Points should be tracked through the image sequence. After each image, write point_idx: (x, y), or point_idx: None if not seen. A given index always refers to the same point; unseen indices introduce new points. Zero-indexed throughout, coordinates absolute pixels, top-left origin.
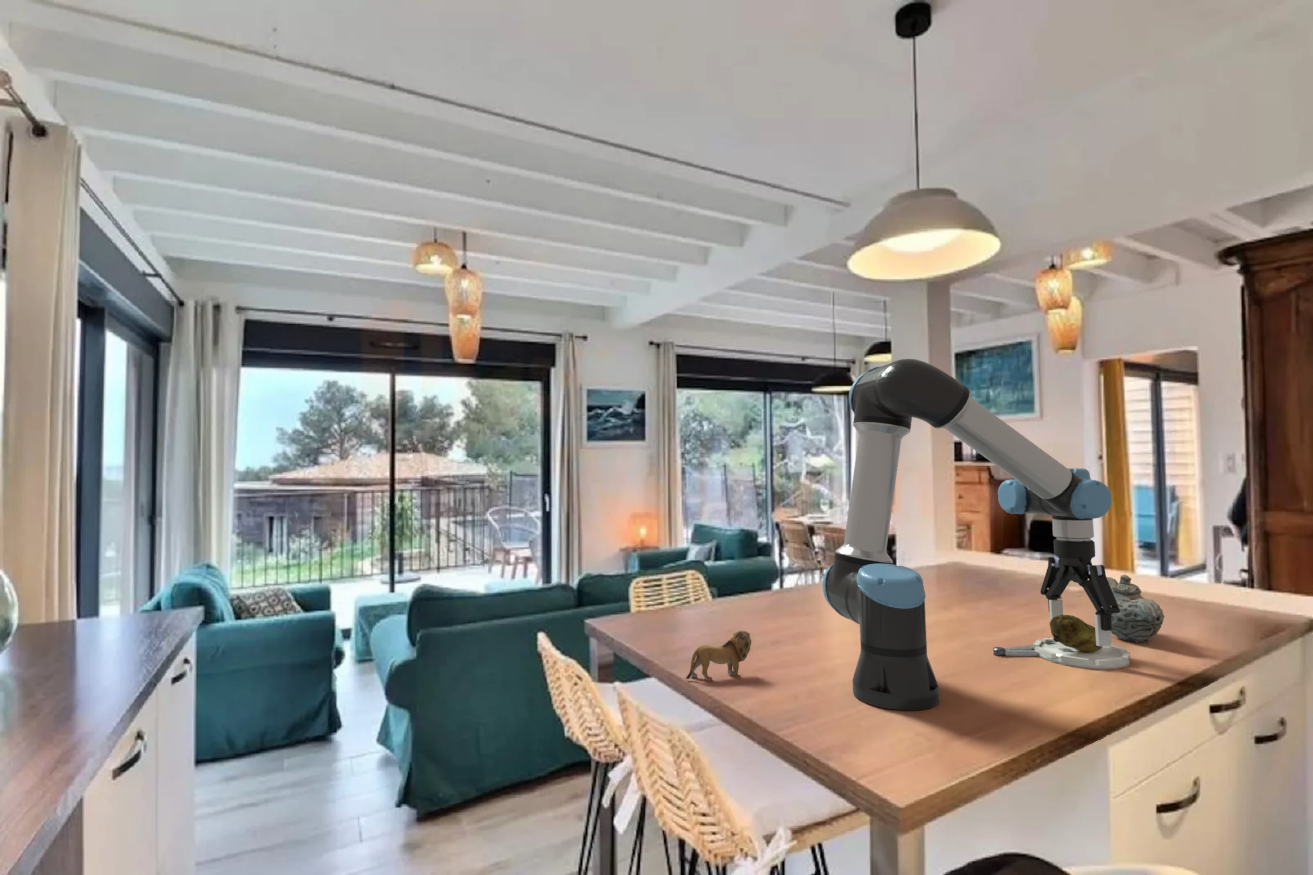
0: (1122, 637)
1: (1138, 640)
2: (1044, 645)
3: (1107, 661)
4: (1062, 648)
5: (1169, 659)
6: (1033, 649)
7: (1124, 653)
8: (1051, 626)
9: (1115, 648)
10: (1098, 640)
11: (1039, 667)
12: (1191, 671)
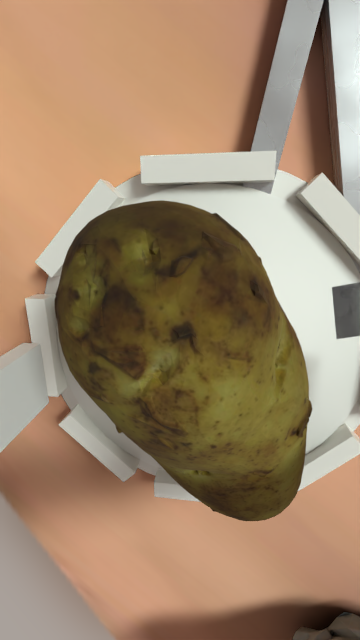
0: (347, 619)
1: (301, 630)
2: (329, 258)
3: (33, 333)
4: None
5: (136, 561)
6: None
7: (111, 455)
8: (181, 203)
9: None
10: (4, 354)
11: (87, 45)
12: (30, 521)
